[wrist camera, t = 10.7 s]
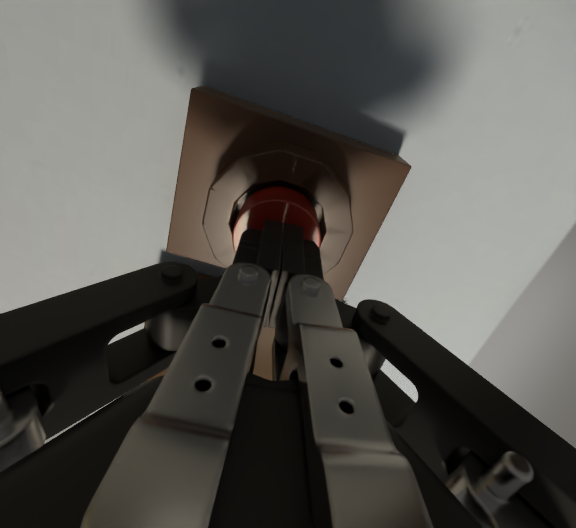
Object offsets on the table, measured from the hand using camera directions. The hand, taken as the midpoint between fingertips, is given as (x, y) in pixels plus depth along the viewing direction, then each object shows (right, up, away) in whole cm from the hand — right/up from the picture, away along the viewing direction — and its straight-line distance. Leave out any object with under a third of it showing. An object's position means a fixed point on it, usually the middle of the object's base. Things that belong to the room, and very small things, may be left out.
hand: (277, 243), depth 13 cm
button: (0, +1, +2) cm, 2 cm away
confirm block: (0, +3, +5) cm, 6 cm away
